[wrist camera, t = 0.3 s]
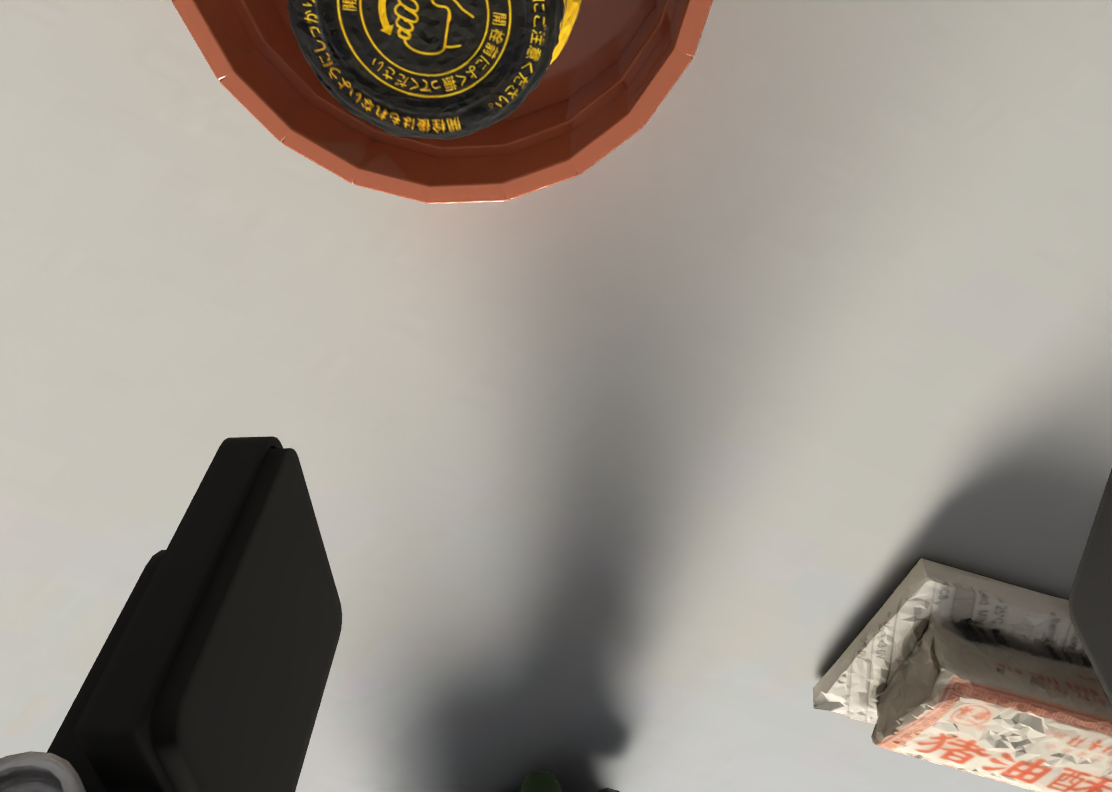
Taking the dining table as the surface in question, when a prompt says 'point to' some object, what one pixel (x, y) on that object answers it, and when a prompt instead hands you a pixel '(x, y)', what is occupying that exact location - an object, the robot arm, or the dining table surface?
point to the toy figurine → (545, 783)
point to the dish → (490, 153)
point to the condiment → (431, 58)
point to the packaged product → (978, 683)
